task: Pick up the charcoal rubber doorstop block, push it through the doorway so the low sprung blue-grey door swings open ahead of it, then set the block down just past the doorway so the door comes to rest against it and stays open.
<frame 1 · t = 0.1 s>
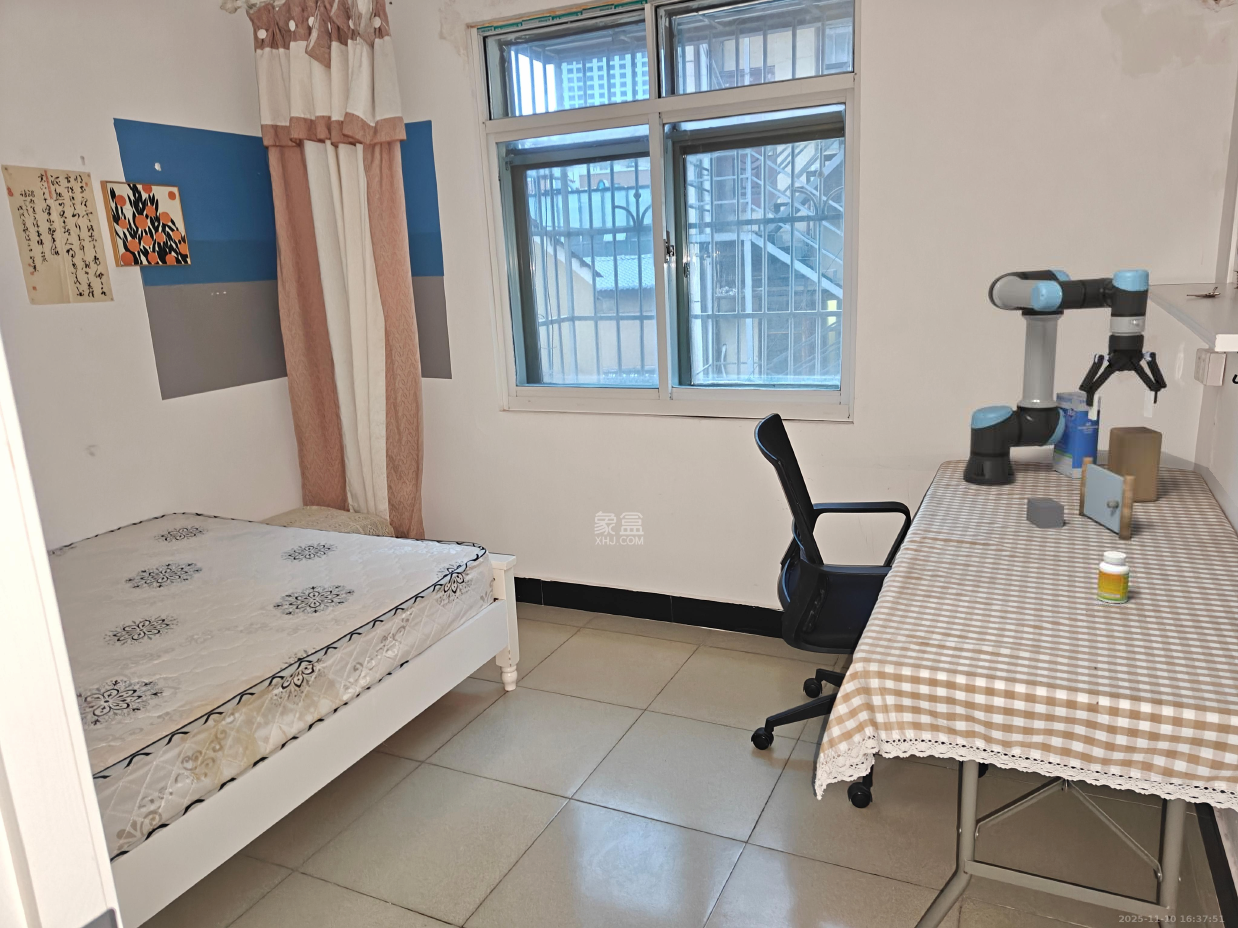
hand: (1119, 418, 211), 28 cm above the table, tool pointing down, fingers open, 13 cm apart
door: (1100, 497, 214), point 8 cm above the table, hinge at 0.0°
wooden block: (1130, 498, 239), on the table
doorstop: (1044, 523, 221), on the table
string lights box: (1072, 474, 268), on the table
door frame: (1083, 515, 226), on the table
supplement bottle: (1111, 600, 171), on the table
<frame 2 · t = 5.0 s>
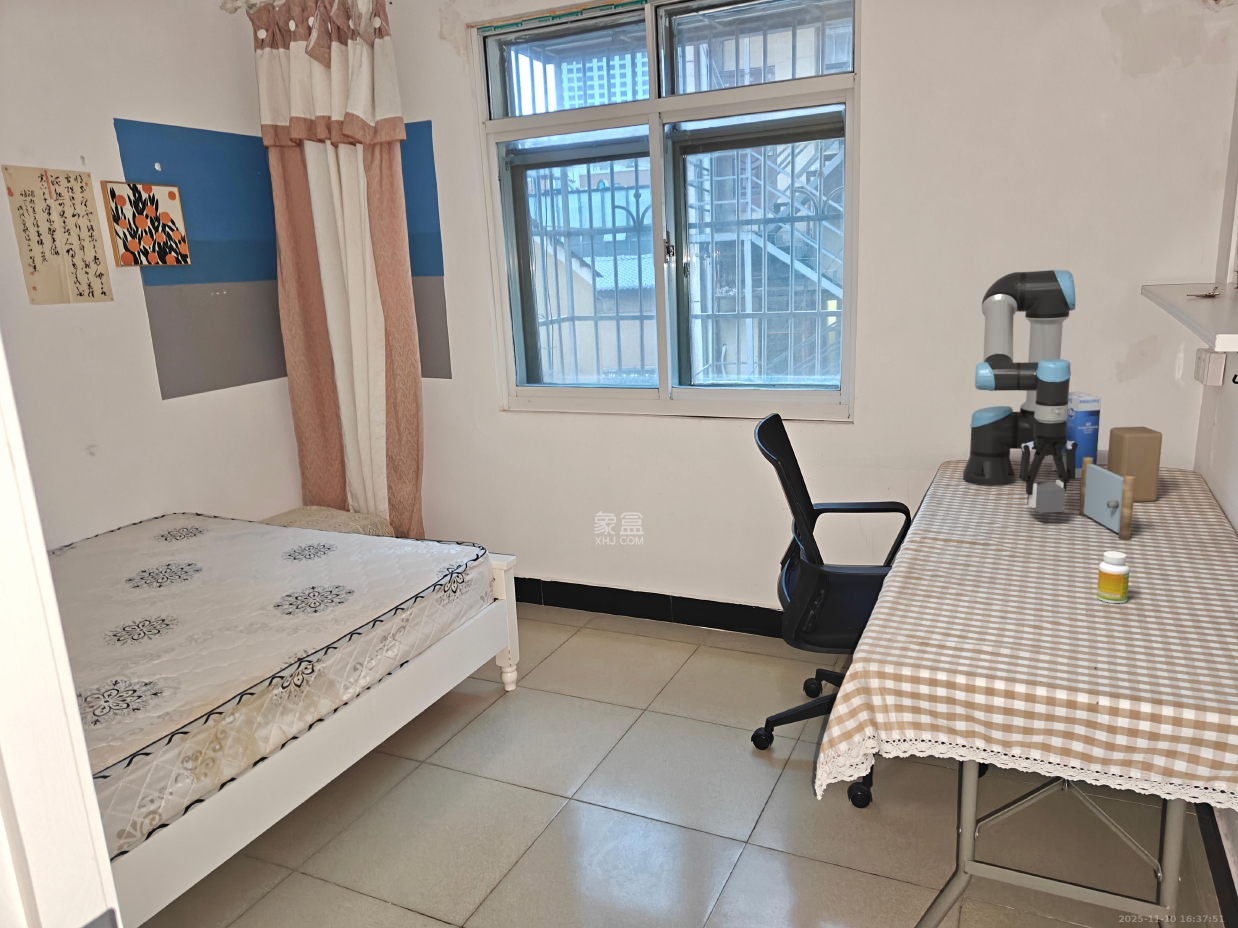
hand: (1045, 505, 220), 5 cm above the table, tool pointing down, fingers closed on doorstop, 6 cm apart
doorstop: (1045, 507, 220), point 4 cm above the table, touching gripper
everything else where it was.
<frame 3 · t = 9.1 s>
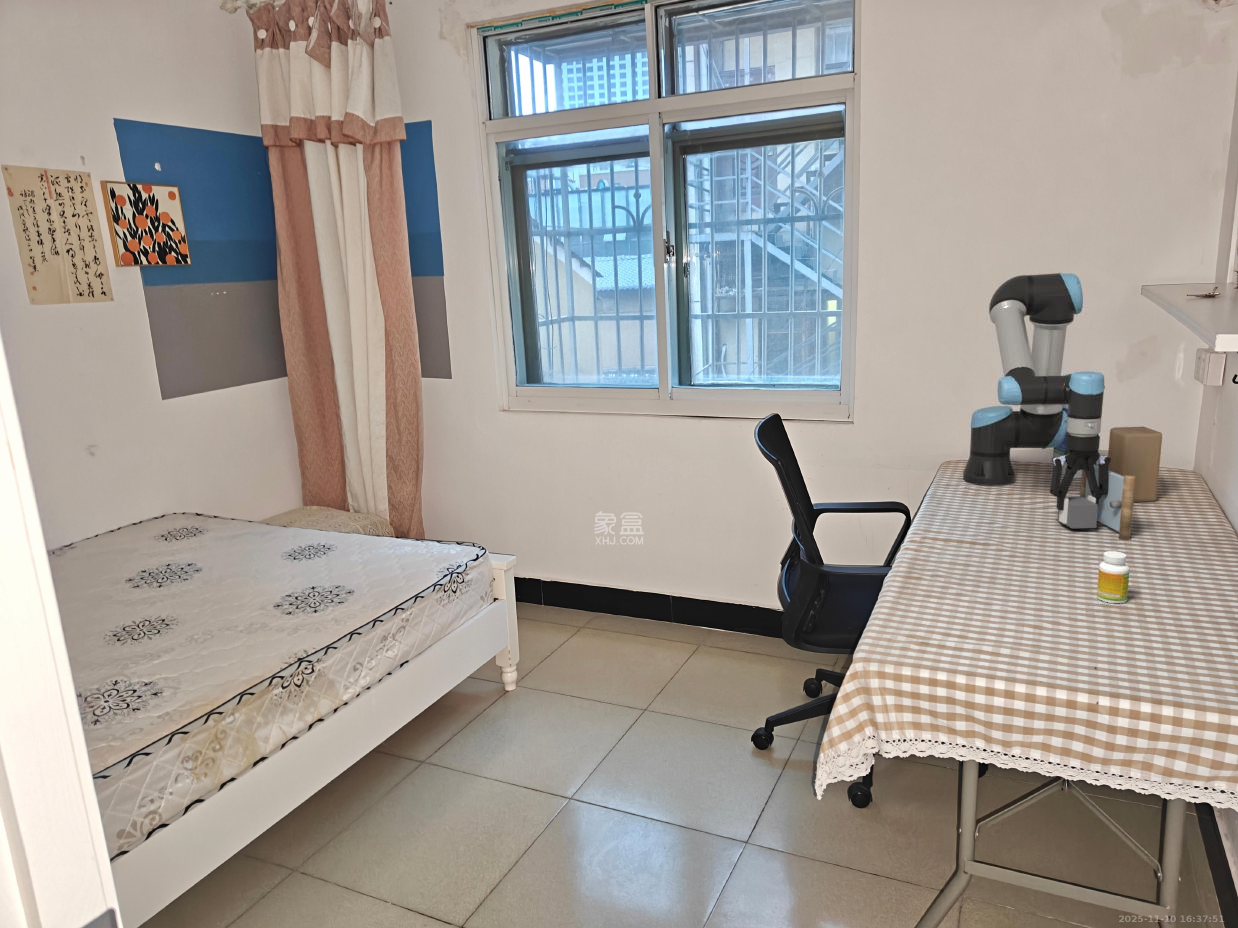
hand: (1076, 521, 215), 2 cm above the table, tool pointing down, fingers closed on doorstop, 6 cm apart
door: (1102, 497, 214), point 8 cm above the table, hinge at 2.3°, touching hand
doorstop: (1076, 523, 215), point 1 cm above the table, touching gripper
everything else where it was.
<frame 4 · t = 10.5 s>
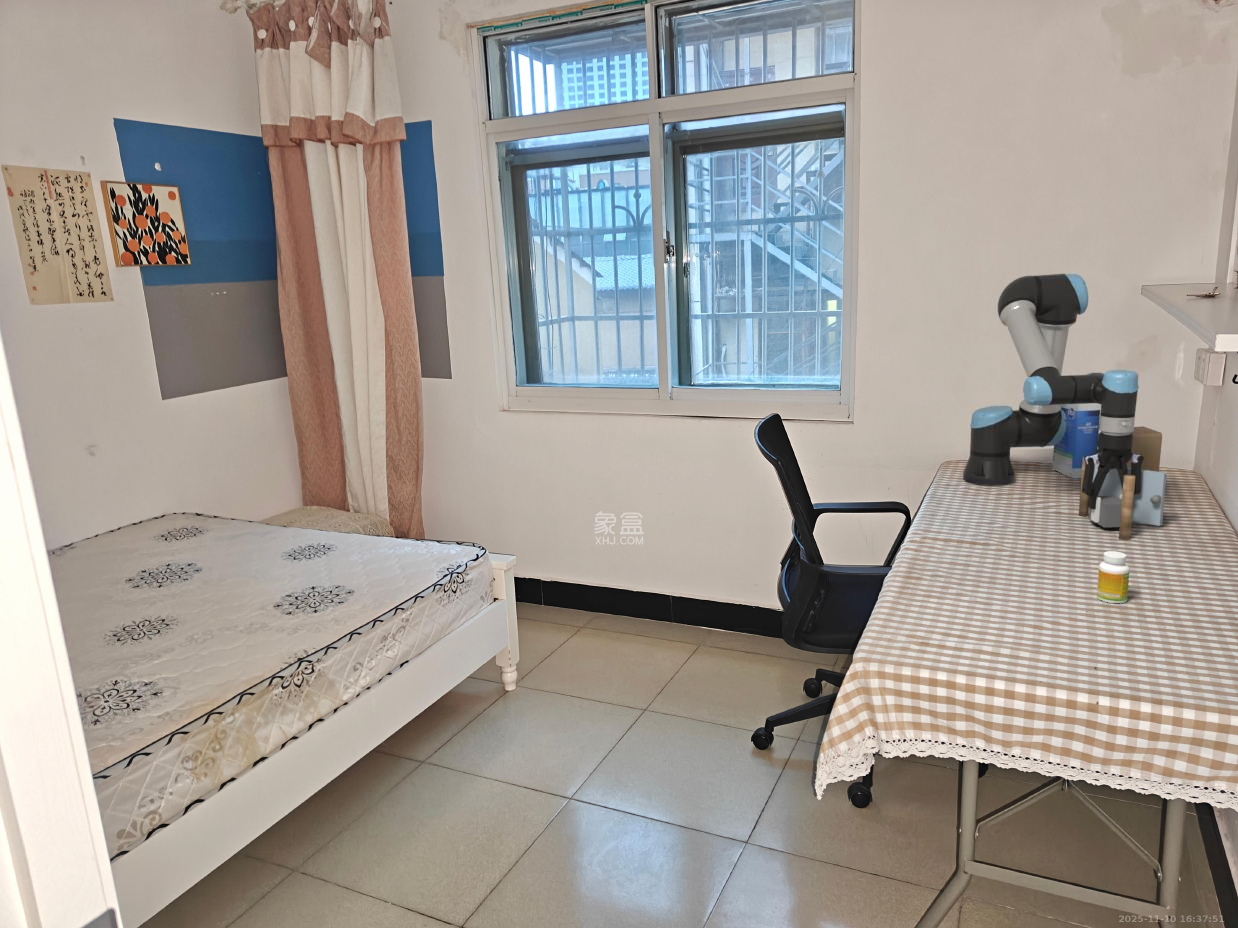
hand: (1108, 520, 215), 2 cm above the table, tool pointing down, fingers closed on doorstop, 6 cm apart
door: (1124, 494, 216), point 8 cm above the table, hinge at 41.4°, touching hand
doorstop: (1108, 522, 215), point 1 cm above the table, touching gripper
everything else where it was.
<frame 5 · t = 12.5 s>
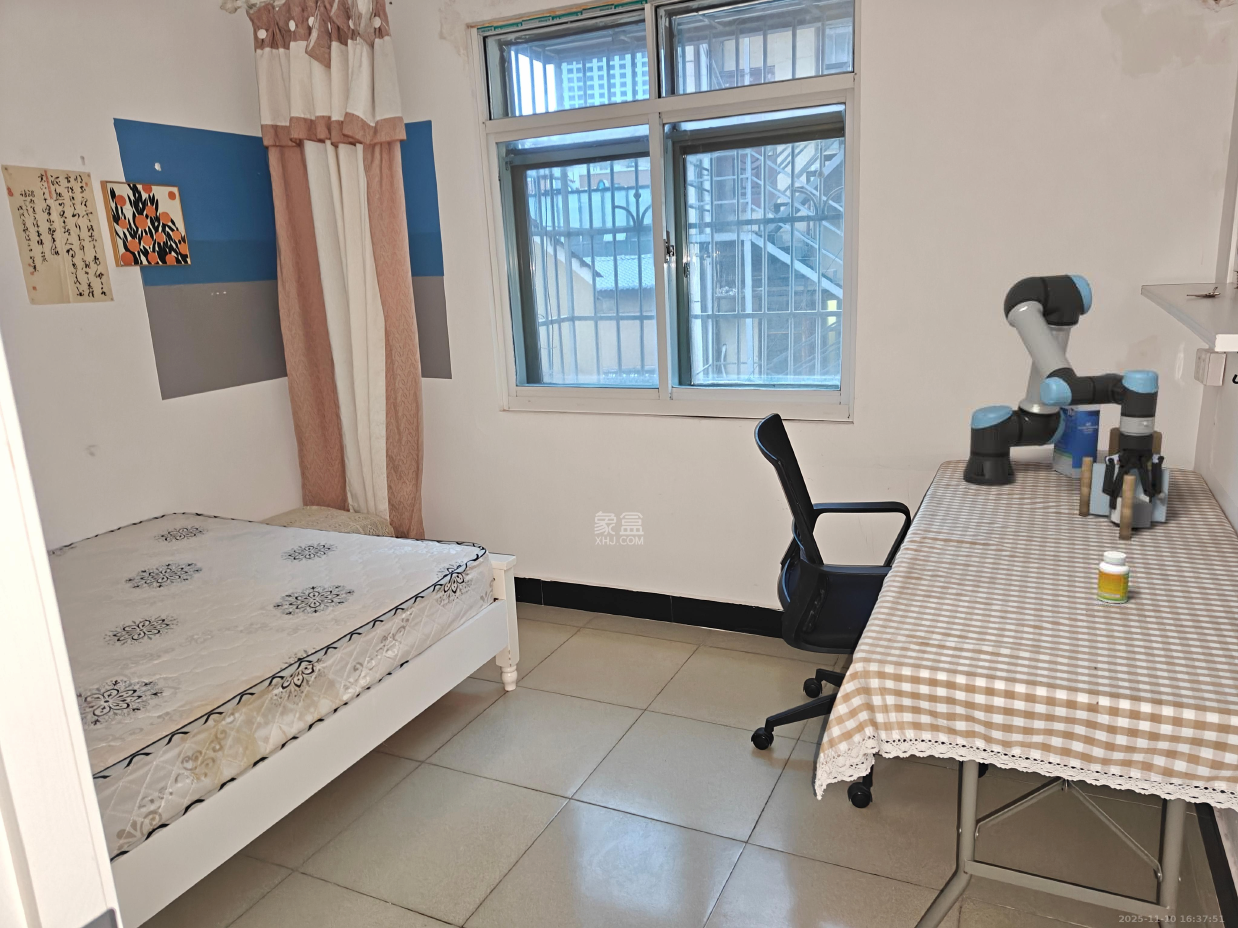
hand: (1128, 520, 214), 2 cm above the table, tool pointing down, fingers closed on doorstop, 6 cm apart
door: (1128, 492, 217), point 8 cm above the table, hinge at 55.0°, touching gripper
doorstop: (1129, 522, 214), point 1 cm above the table, touching gripper
everything else where it was.
when the fingers open (2 cm above the table, at t = 13.0 s): doorstop drops 1 cm, on the table.
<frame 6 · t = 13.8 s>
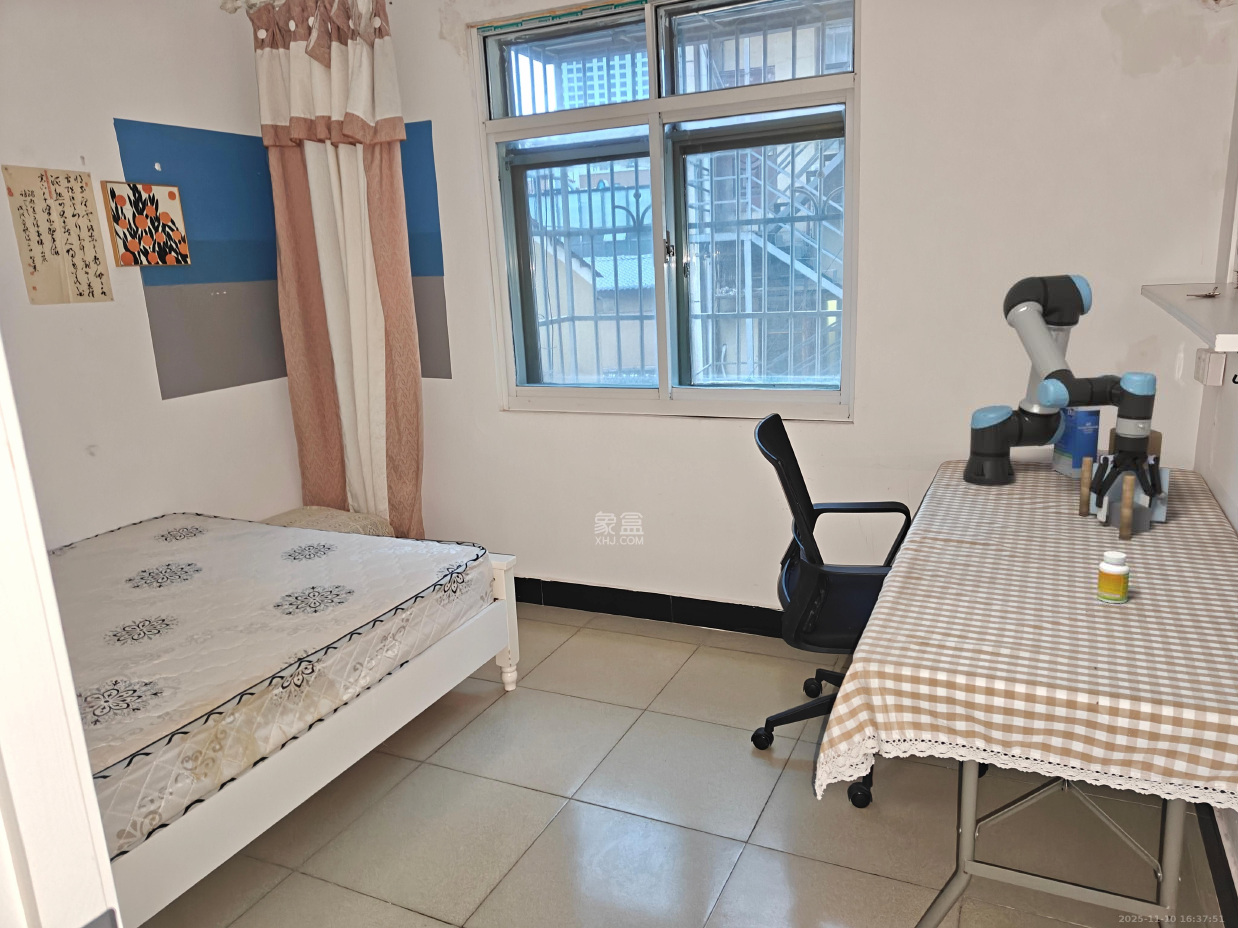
hand: (1121, 519, 214), 2 cm above the table, tool pointing down, fingers open, 9 cm apart
door: (1128, 492, 217), point 8 cm above the table, hinge at 56.1°, touching gripper
doorstop: (1127, 527, 214), on the table
everything else where it was.
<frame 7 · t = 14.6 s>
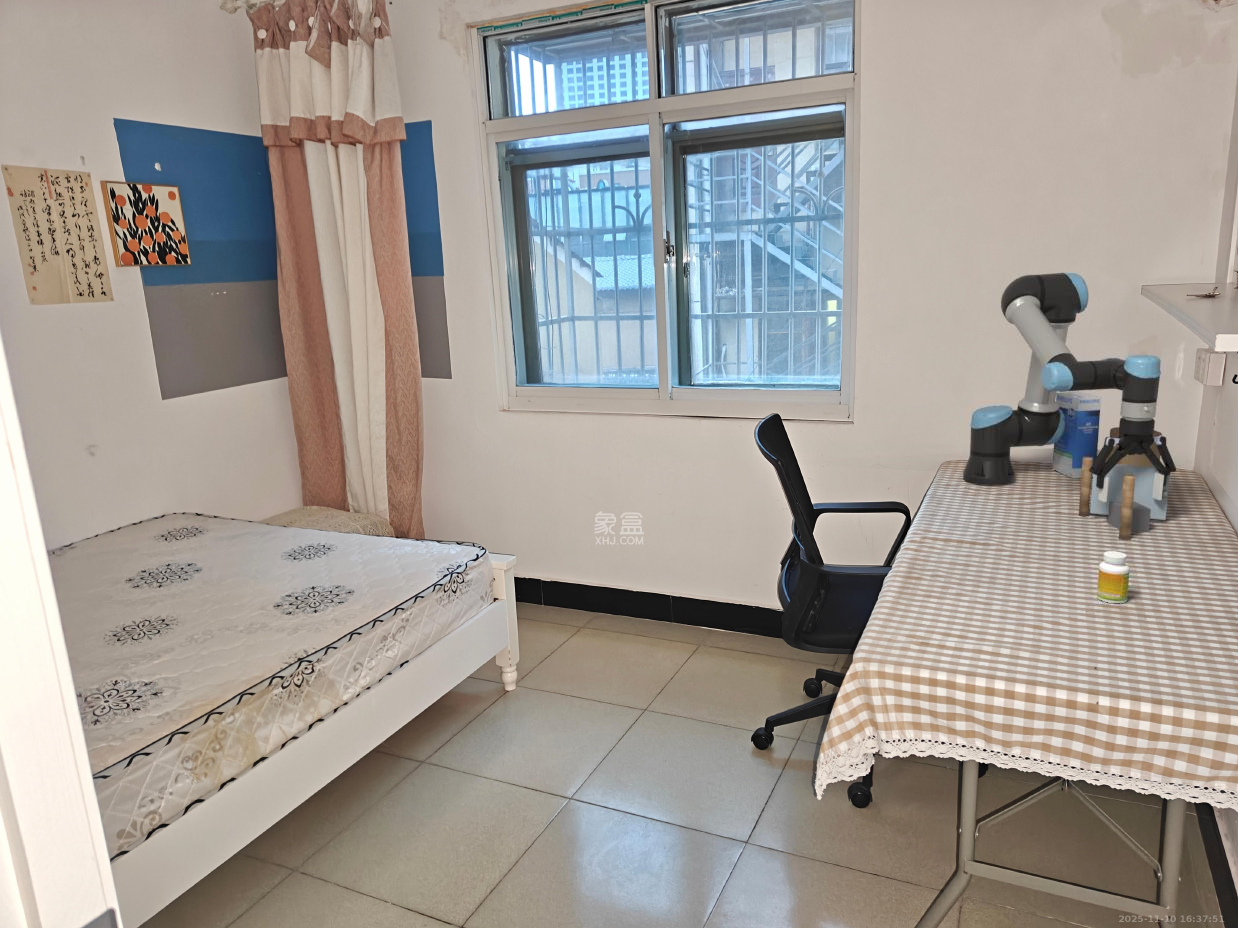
hand: (1129, 499, 213), 7 cm above the table, tool pointing down, fingers open, 13 cm apart
door: (1129, 491, 218), point 8 cm above the table, hinge at 61.2°
everything else where it was.
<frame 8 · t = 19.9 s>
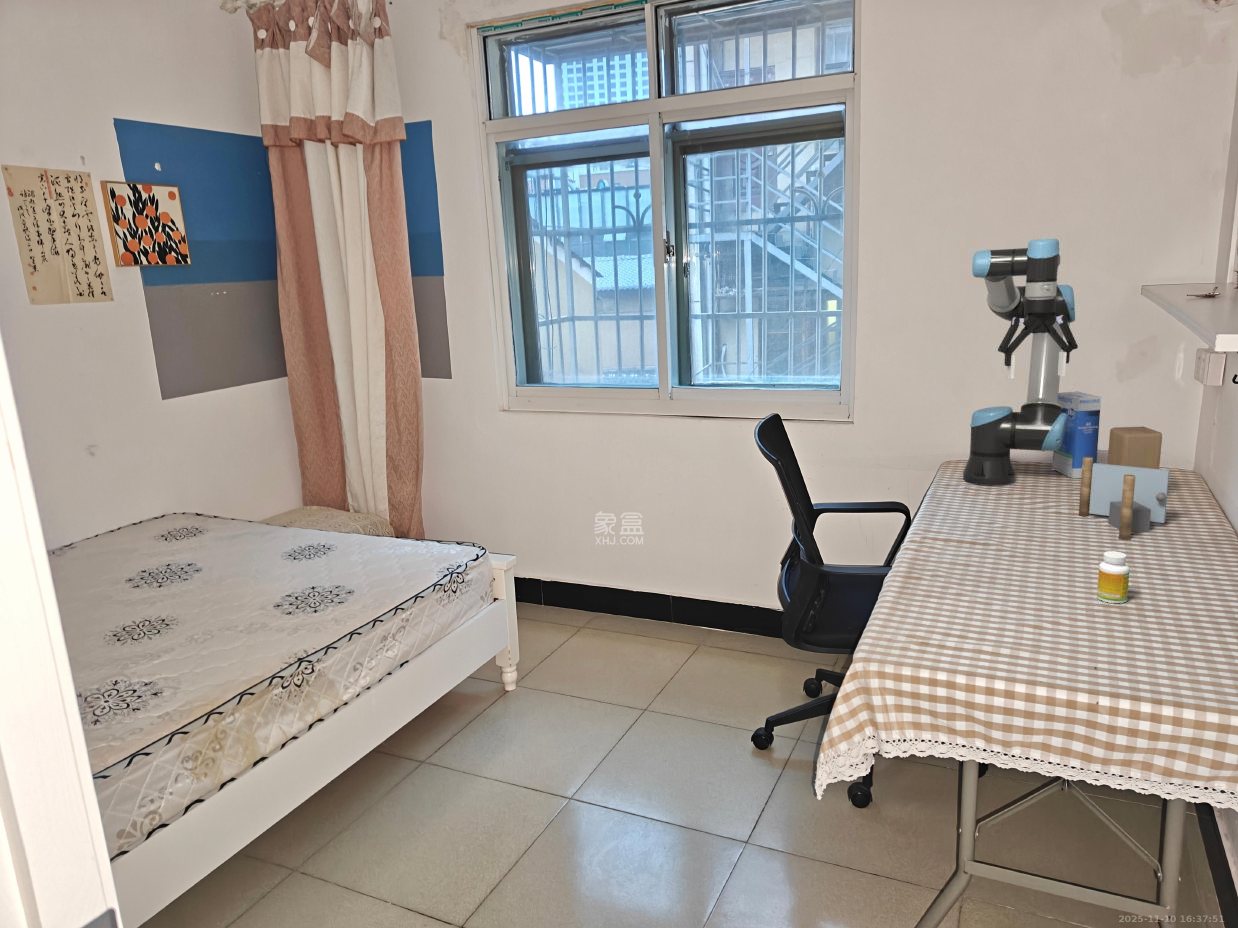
hand: (1035, 377, 229), 37 cm above the table, tool pointing down, fingers open, 13 cm apart
door: (1127, 493, 217), point 8 cm above the table, hinge at 51.2°
everything else where it was.
at the end: door at +51° (first picture: +0°); doorstop inside the target area (3.1 cm from its centre), on the table; doorstop tilted 0° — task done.
